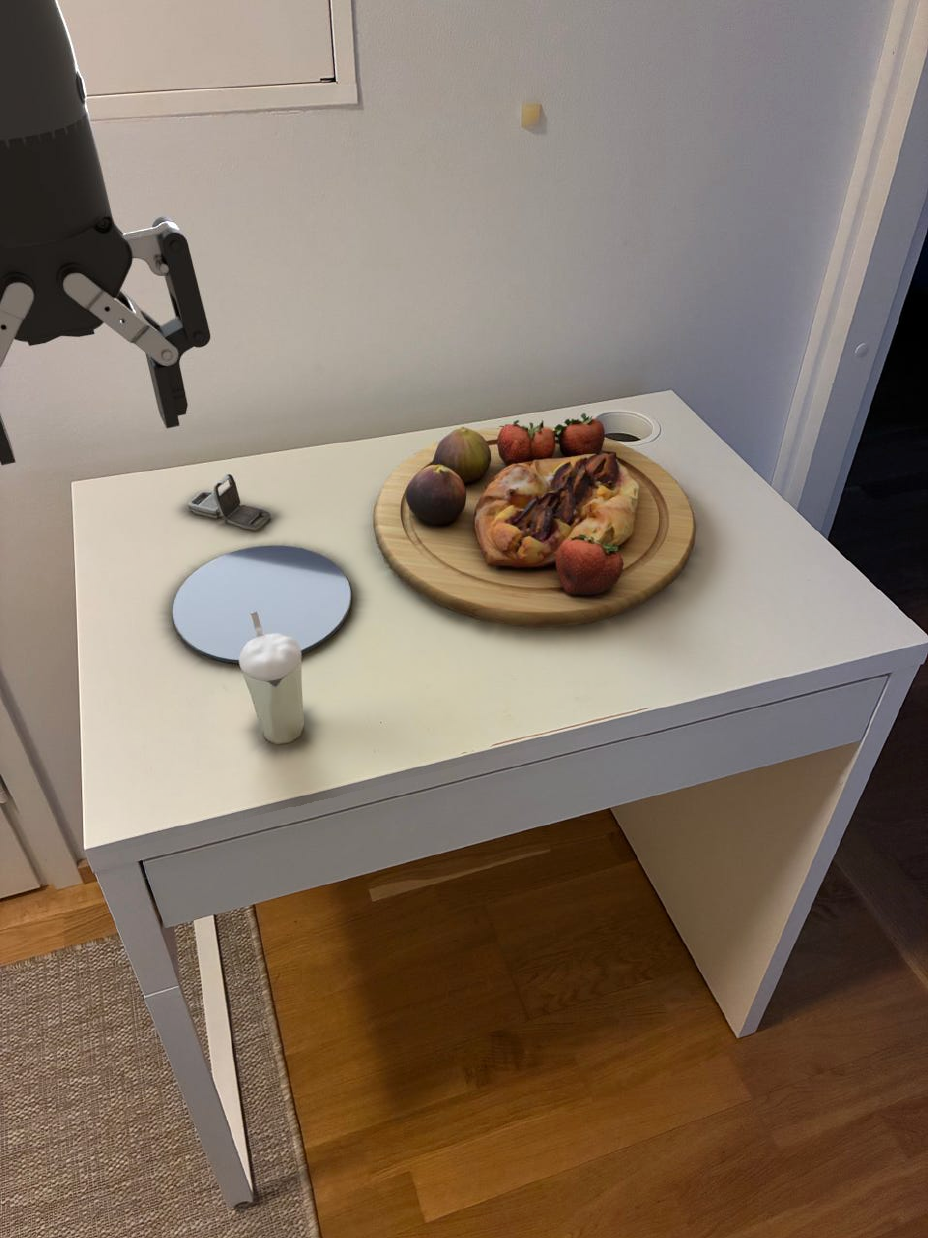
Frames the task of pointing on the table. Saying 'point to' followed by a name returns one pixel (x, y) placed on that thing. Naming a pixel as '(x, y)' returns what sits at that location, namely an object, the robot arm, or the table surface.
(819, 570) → the table surface
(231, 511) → the strap clip
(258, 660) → the milkshake
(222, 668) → the table surface
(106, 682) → the table surface
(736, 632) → the table surface
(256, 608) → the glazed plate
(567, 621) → the wooden plate
